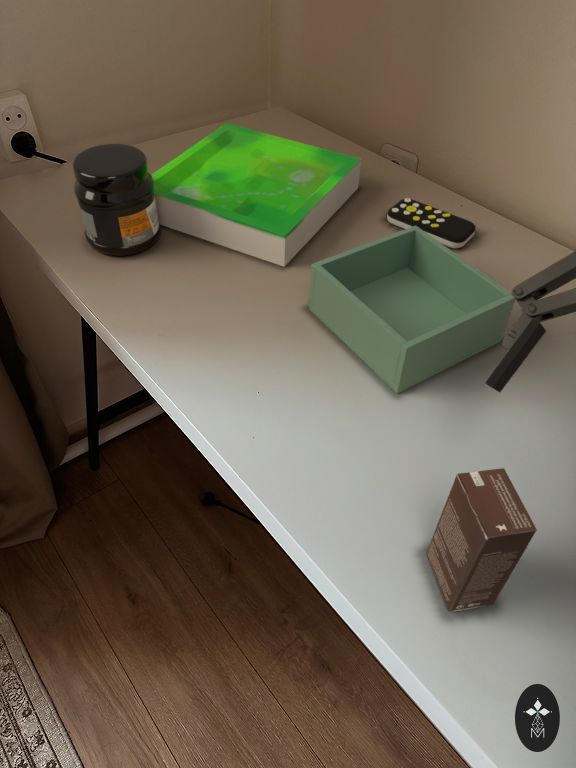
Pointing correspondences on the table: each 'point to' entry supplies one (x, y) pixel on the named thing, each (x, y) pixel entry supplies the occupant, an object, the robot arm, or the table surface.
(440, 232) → the remote control
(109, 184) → the supplement container
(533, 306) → the robot arm
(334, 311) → the bin
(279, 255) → the green flat square slab
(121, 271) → the table surface
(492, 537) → the box
